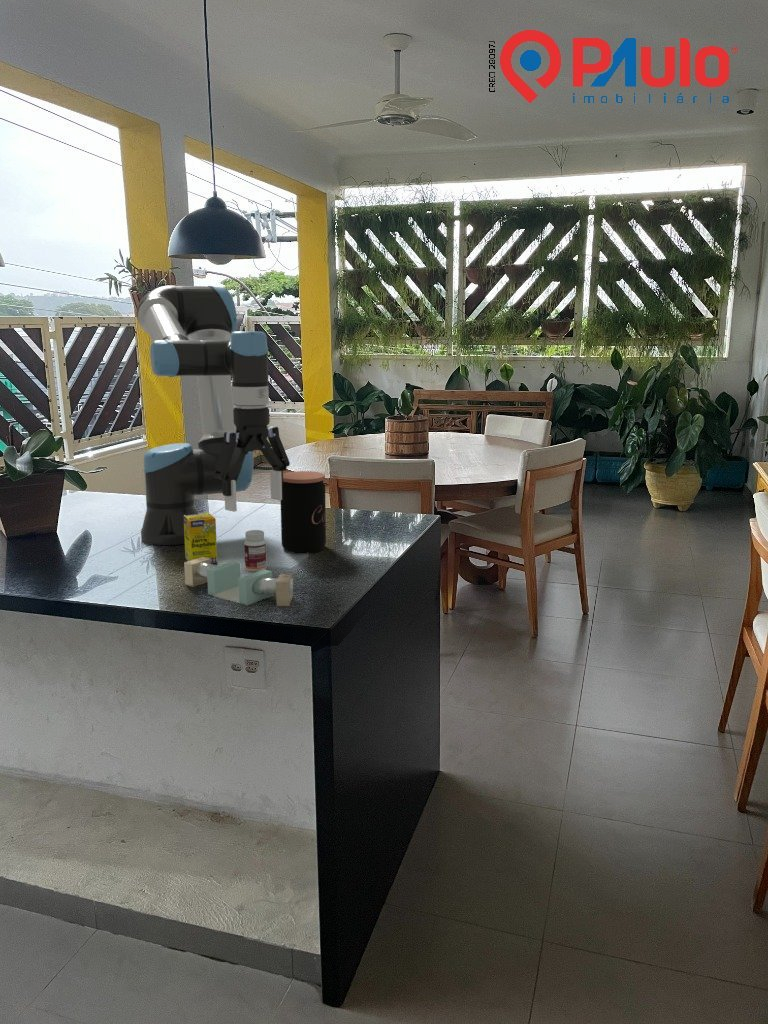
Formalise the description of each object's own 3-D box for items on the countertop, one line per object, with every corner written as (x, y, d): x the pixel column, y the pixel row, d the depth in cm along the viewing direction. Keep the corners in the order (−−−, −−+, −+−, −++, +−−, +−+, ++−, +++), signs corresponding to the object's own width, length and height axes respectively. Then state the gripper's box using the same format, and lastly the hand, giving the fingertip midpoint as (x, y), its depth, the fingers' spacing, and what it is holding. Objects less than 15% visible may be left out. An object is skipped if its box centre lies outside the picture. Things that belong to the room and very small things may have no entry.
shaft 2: (249, 605, 146) (248, 581, 145) (254, 596, 151) (253, 573, 150) (290, 606, 146) (290, 582, 145) (294, 597, 151) (293, 574, 150)
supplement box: (191, 568, 168) (189, 520, 166) (185, 561, 173) (182, 514, 171) (218, 565, 171) (216, 517, 168) (211, 558, 176) (208, 512, 173)
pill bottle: (246, 565, 171) (244, 529, 169) (267, 565, 171) (266, 529, 169) (244, 572, 166) (242, 535, 164) (266, 571, 167) (264, 534, 165)
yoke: (208, 594, 152) (206, 569, 151) (234, 585, 158) (233, 561, 157) (246, 606, 146) (245, 580, 145) (272, 596, 151) (271, 571, 150)
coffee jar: (318, 555, 178) (317, 480, 174) (275, 552, 180) (273, 478, 176) (331, 543, 189) (330, 472, 184) (289, 540, 191) (288, 470, 186)
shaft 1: (182, 583, 158) (181, 561, 157) (201, 577, 162) (200, 556, 161) (212, 592, 153) (210, 570, 152) (230, 586, 157) (229, 564, 156)
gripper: (218, 412, 148) (222, 518, 153) (304, 403, 168) (306, 497, 173) (192, 410, 153) (197, 512, 158) (279, 401, 172) (281, 492, 177)
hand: (254, 504), depth 165 cm, fingers open, 13 cm apart
